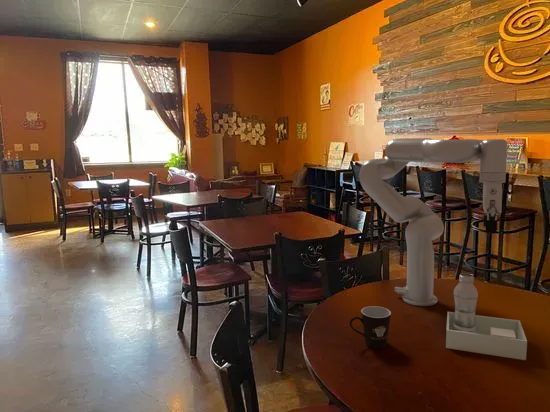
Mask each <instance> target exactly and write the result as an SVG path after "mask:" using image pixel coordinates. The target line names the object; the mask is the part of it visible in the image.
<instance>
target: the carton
mask: <svg viewBox="0 0 550 412" xmlns="http://www.w3.org/2000/svg"><path fill="white" fill-rule="evenodd" d="M490 335H492V336H499V337H506V338H513V339H516V336H515V332H514V330H508V329H500V328H492V327H491V331H490Z"/></svg>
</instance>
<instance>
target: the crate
mask: <svg viewBox="0 0 550 412" xmlns="http://www.w3.org/2000/svg"><path fill="white" fill-rule="evenodd" d="M446 312H447V316H446V331H445V332H446V333H445V335H446V336H445V348H446V349H451V350H457V351H464V352H470V353H476V354H481V355H489V356H494V357H495V356H497V357H503V358H509V359H515V360H521V361H527V353H528V352H527V350H528V340H527V337H526V334H525V331H524V329H523V325H522V323H521V320H518V319H509V318H501V317H495V316H494V317H493V316H485V315H479V314H478V315H477V314H475V323H476V329H477V333H470V332H463V331H455V330H452V329H453V324H454V319H455V311H454V312H453V311H446ZM491 327H492V328H500V329H508V330H514V332H515V336H516V339H513V338H506V337H499V336H492V335H490V331H491Z"/></svg>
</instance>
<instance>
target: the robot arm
mask: <svg viewBox="0 0 550 412" xmlns="http://www.w3.org/2000/svg"><path fill="white" fill-rule="evenodd" d="M384 148H385V149H384V152H385V153H384V154H385V155H386V156H384V157H382V158H374V159H369V160H367V161H366V162H365V161H364V163H363V164H362V166H360V169H359V177H358V179H359V183H360V185H361V187H362V189H363V190H364V191H365V193H366V194H367V195H368V196H369V197H370V198H371V199H373V200H374V202H375V203H377V204H378V206H379V208H381V209H382V210H383V211H384V212H385V213H386V214H387V215H388V216H389V217H390V218H391V219H392V220H393V221H394V222H396V223H398V224H399V223H401V224H402V223H405V222H409V223H408V224H407V225H406V228H405V234H404V235H405V242H406V259H407V260H406V285H405V286H403V287H400V286H394V292H395V293H396V294H399V295H401V298H402V301H403V302H405V303H406V304H408V305H411V306H418V307H431V306H434V305H436V304H437V303H438V297H437V296H436V295H434V275H435V273H434V272H435V270H434V269H435V251H434V245H433V241H434V240H436V239H438V238H439V237H441V236H442V235H443V233H444V230H445V226H444V225H445V224H444V222H443V220H442V219H441V218H440V216H438V214H436V213H435V212H434V211H433V210H432V209H431V207H429V206H428V205H427V204H426V203H425V202H423V201H422V200H421V199H420V198H418V197H417V196H413V195H406V196H404V195H401V194H400V193H399V192H398V191H397V190H396V189H395V188H394V187H393V186H392V185H390V184H389V183H387V182H386V181H384V180H388V179H392V178H393V177H395V175H397V174H398V173H399V172H401V170H403V169H404V168H405V167H406V166H407V165H408V164H409V163H410V162H415V163H417V162H418V163H447V164H448V163H454V164H464V163H469V162H478V161H479V179H478V180H479V181H478V182H479V183H481V184H482V186H483V187H482V208H483V211H484V215H483V227H485V229H484V230H485V231H484V232H485V233H489V234H490V233H493V234H497V232H498V214H501V213H502V212H503V211H502V208H503V207H502V206H503V205H502V204H503V203H502V202H503V184H504V183H506V179H507V178H506V177H507V176H506V175H507V161H508V159H507V157H508V141H507V140H506V139H503V138H492V139H491V138H490V139H484V140H483V139H476V138H475V139H473V138H471V139H470V138H464V139H463V138H462V139H433V138H430V137H419V138H417V137H415V138H414V137H413V138H411V137H410V138H394V139H391V140H390V141H388V142H387V143H386V146H385V147H384Z"/></svg>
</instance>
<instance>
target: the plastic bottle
mask: <svg viewBox="0 0 550 412" xmlns="http://www.w3.org/2000/svg"><path fill="white" fill-rule="evenodd" d="M458 281H459V283H457V285H456V286H455V287H454V288H453V299H454V313H455V319H454V324H453V329H452V330H455V331H463V332H470V333H477V329H476V323H475V315H476V308H477V302H478V298H479V293H478V289H477V288H476V287H475V285H474V282H475V281H474V274H471V273H464V272H463V273H460V274H459V278H458Z"/></svg>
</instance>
